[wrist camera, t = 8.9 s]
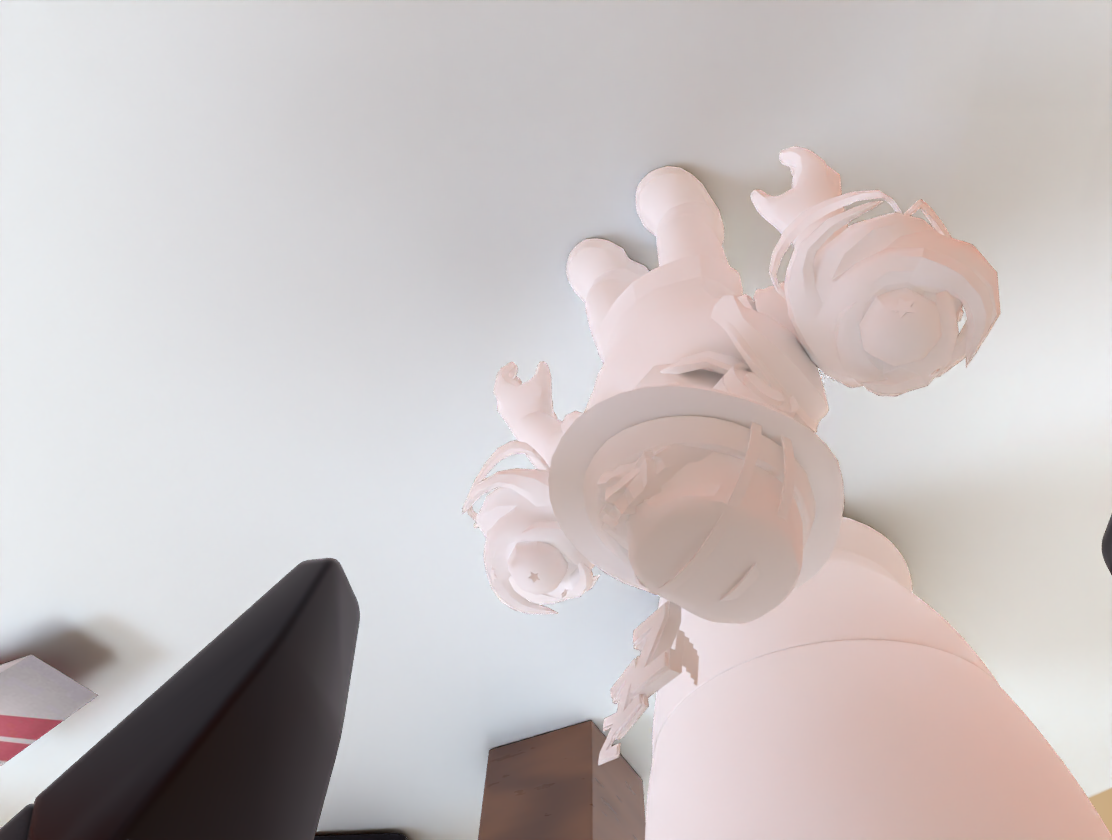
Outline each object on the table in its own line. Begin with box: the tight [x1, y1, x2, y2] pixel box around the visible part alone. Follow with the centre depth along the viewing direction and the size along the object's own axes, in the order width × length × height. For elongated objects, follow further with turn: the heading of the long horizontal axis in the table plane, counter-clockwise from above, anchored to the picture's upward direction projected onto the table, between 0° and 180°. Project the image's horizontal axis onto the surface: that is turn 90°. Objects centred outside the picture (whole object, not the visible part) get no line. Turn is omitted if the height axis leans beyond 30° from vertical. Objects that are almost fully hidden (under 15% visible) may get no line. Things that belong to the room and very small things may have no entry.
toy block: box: [478, 721, 646, 840], centre depth 28 cm, size 5×5×5 cm
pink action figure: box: [462, 146, 1000, 765], centre depth 12 cm, size 9×4×12 cm, turn 133°
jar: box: [645, 517, 1112, 840], centre depth 18 cm, size 11×10×15 cm
